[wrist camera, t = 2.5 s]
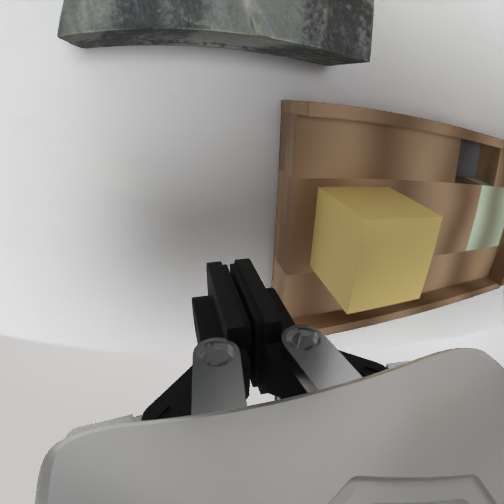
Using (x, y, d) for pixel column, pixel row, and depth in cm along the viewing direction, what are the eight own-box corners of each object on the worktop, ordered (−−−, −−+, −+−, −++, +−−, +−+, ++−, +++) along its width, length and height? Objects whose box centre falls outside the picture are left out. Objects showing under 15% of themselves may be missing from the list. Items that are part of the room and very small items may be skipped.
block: (388, 187, 18) (442, 216, 14) (375, 257, 21) (419, 298, 16) (318, 186, 17) (366, 220, 13) (309, 265, 20) (347, 314, 15)
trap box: (506, 141, 22) (540, 153, 18) (475, 269, 29) (502, 290, 25) (281, 100, 17) (314, 102, 13) (270, 306, 24) (290, 347, 20)
